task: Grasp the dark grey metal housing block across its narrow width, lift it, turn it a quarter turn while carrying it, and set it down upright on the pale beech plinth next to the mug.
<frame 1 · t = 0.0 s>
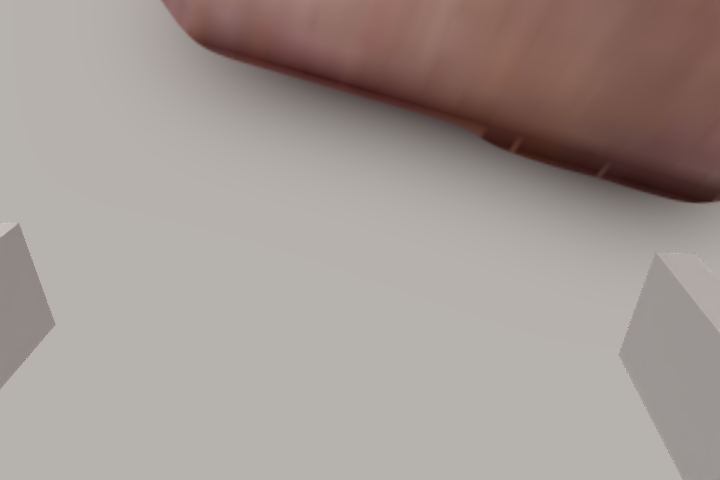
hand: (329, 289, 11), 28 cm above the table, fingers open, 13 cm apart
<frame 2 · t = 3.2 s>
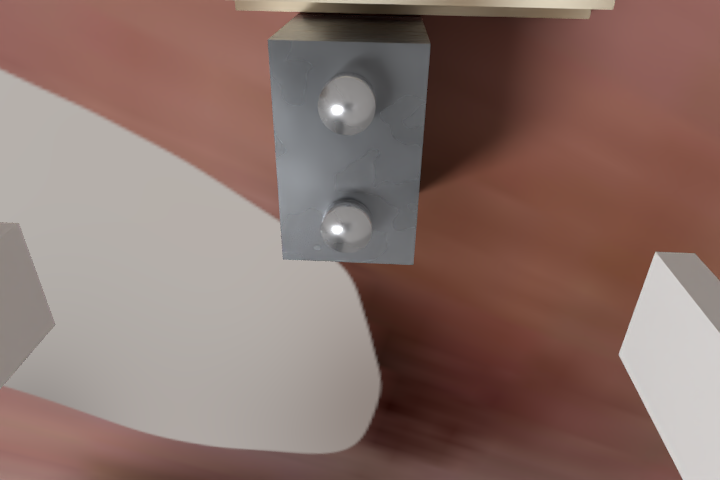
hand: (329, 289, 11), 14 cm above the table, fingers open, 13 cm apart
housing: (358, 112, 23), on the table
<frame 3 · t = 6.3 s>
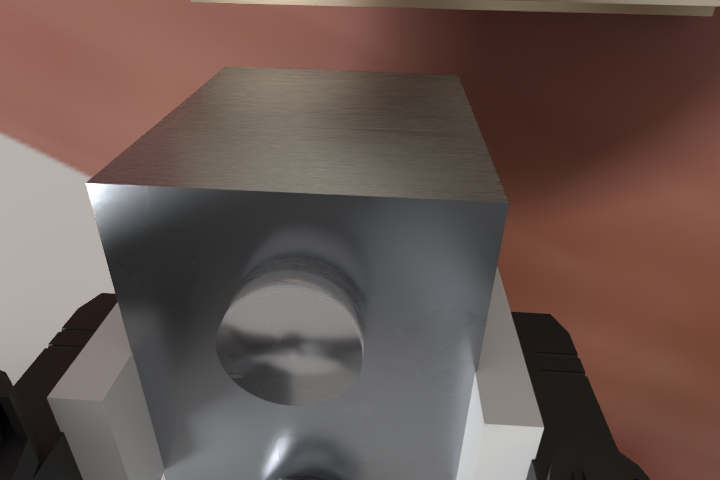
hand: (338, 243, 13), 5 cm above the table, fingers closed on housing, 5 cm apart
housing: (340, 231, 13), point 5 cm above the table, touching gripper
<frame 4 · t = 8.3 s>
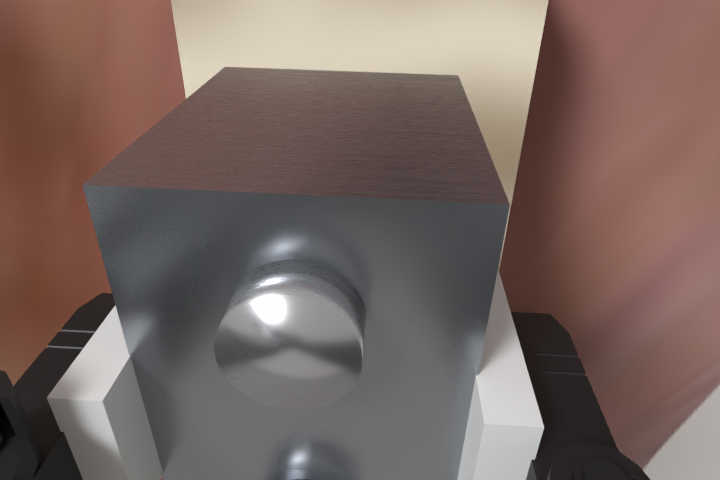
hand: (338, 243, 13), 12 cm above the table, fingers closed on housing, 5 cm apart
plinth: (362, 100, 23), on the table
housing: (340, 232, 13), point 12 cm above the table, touching gripper
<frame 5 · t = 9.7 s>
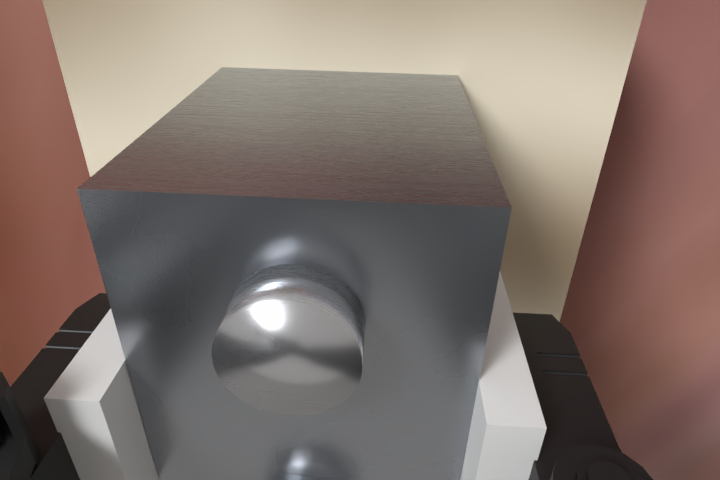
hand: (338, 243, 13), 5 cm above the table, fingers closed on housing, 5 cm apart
plinth: (351, 159, 18), on the table
housing: (338, 234, 13), point 5 cm above the table, touching gripper, plinth
when the fingers open (5 cm above the table, at t = 10.2 s): housing stays where it is, resting on plinth.
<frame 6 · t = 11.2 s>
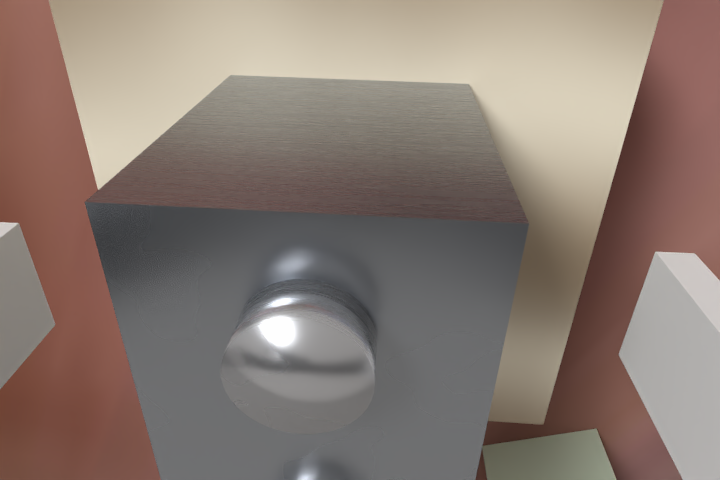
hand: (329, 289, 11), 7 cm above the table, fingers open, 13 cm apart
plinth: (358, 166, 17), on the table
sage block: (545, 469, 25), on the table
housing: (346, 243, 13), point 5 cm above the table, touching plinth
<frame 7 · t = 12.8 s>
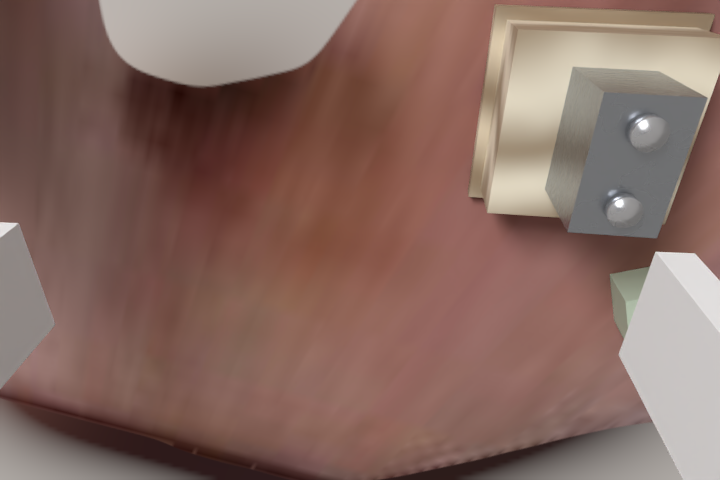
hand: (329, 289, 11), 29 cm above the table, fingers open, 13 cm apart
plinth: (576, 111, 38), on the table
sage block: (642, 291, 45), on the table
housing: (598, 133, 33), point 5 cm above the table, touching plinth
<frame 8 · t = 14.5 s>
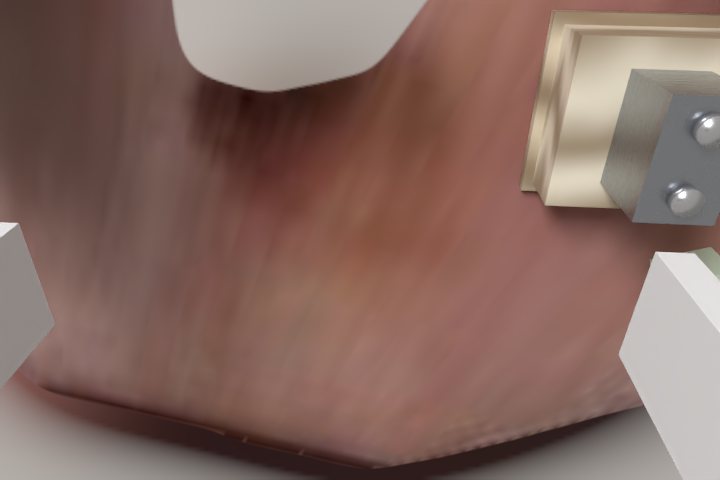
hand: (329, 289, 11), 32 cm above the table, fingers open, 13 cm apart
plinth: (624, 108, 40), on the table
sage block: (679, 275, 48), on the table
housing: (652, 130, 36), point 5 cm above the table, touching plinth
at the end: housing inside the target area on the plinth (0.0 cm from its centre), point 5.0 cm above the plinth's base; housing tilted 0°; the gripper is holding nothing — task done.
